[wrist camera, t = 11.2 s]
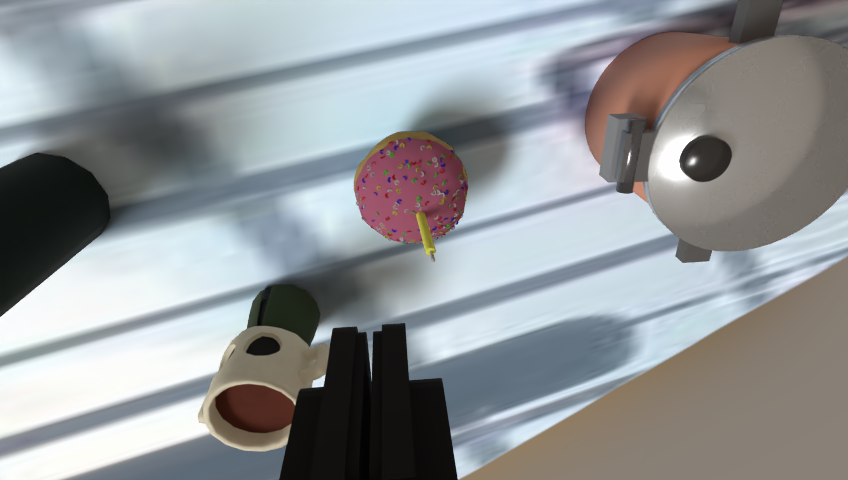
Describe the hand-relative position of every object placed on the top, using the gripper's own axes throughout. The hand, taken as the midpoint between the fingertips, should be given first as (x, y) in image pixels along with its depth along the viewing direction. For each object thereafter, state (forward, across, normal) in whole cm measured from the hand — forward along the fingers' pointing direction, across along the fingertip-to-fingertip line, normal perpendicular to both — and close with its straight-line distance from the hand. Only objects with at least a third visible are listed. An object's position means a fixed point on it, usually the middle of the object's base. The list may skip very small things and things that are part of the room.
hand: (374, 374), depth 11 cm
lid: (+18, -22, +1) cm, 28 cm away
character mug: (+29, +10, +18) cm, 36 cm away
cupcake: (+29, -2, +5) cm, 30 cm away
